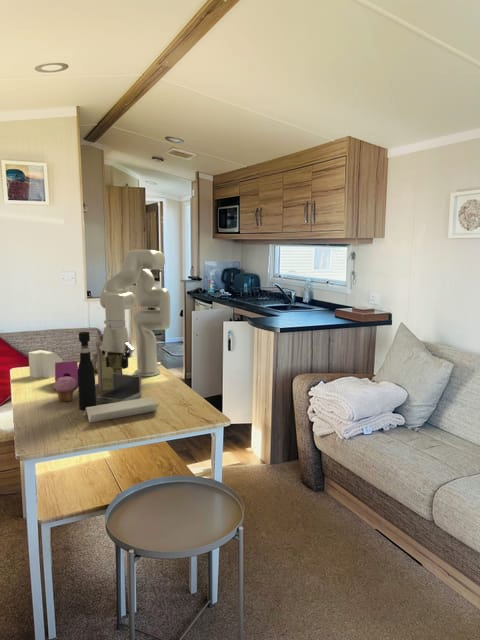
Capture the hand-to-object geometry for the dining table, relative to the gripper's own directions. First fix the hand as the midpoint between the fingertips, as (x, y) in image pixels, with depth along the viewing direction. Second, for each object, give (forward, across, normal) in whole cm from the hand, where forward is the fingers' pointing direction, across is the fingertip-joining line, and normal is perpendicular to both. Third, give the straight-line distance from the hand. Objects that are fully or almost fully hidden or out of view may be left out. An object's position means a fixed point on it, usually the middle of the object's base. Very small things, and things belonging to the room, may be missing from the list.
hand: (117, 367), depth 196 cm
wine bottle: (+14, -5, -13) cm, 20 cm away
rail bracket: (+14, 0, 0) cm, 14 cm away
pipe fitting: (+14, -38, +36) cm, 54 cm away
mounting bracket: (+14, -34, +8) cm, 37 cm away
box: (+14, -14, +13) cm, 24 cm away
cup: (+2, 0, 0) cm, 2 cm away
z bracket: (+15, +12, -14) cm, 23 cm away
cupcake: (+14, -20, -8) cm, 26 cm away
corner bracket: (+14, -56, +19) cm, 61 cm away
